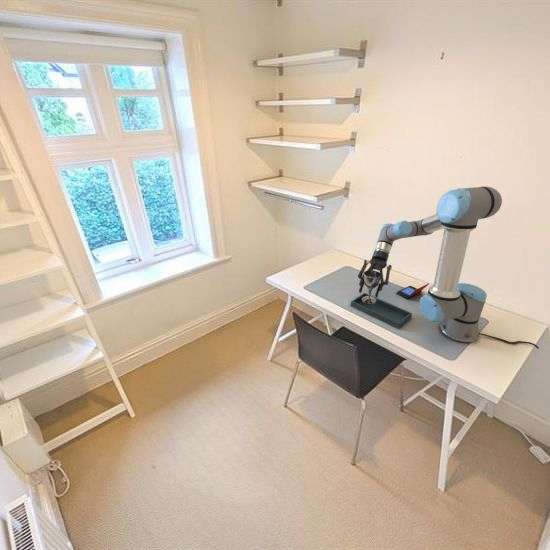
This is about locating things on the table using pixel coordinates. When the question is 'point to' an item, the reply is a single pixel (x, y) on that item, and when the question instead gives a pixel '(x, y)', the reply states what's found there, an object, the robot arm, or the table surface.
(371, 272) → the wine glass
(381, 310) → the tray
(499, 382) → the table surface
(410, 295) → the handheld game console
